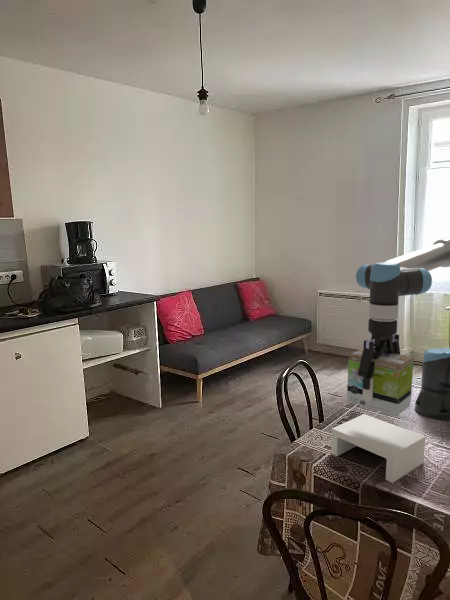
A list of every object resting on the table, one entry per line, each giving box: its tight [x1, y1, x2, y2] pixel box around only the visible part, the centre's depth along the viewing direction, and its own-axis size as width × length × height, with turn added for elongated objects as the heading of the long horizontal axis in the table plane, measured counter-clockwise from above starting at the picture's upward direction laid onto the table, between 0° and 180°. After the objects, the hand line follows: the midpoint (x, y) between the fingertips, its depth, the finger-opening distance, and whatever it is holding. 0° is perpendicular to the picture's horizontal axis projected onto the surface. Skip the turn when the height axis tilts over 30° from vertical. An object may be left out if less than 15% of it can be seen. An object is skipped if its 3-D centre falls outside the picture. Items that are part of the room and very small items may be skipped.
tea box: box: [346, 347, 415, 417], centre depth 127 cm, size 15×10×15 cm, turn 48°
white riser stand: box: [330, 413, 426, 484], centre depth 130 cm, size 16×20×8 cm
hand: (379, 395), depth 128 cm, fingers closed on tea box, 11 cm apart
